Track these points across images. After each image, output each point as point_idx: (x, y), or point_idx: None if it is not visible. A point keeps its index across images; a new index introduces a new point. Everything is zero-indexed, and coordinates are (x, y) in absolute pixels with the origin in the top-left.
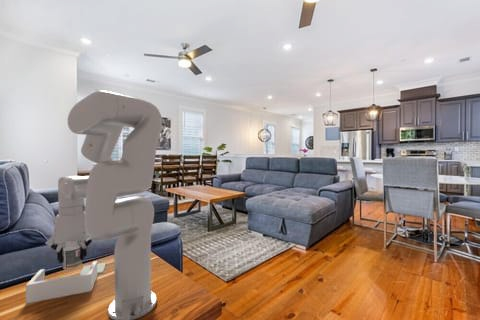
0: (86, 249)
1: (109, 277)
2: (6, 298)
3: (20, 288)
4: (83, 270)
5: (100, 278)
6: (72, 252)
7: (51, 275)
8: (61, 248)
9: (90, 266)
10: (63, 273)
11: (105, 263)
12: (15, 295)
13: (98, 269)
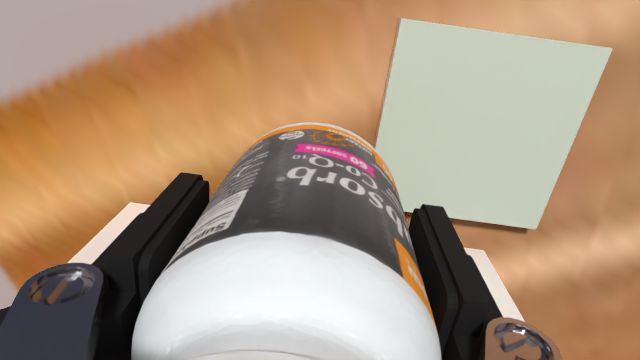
0: (491, 316)
1: (549, 307)
2: (3, 261)
3: (9, 171)
4: (395, 132)
5: None
6: None
7: (141, 47)
8: (108, 356)
9: (458, 66)
10: (233, 58)
11: (599, 71)
12: (35, 251)
13: (511, 177)
